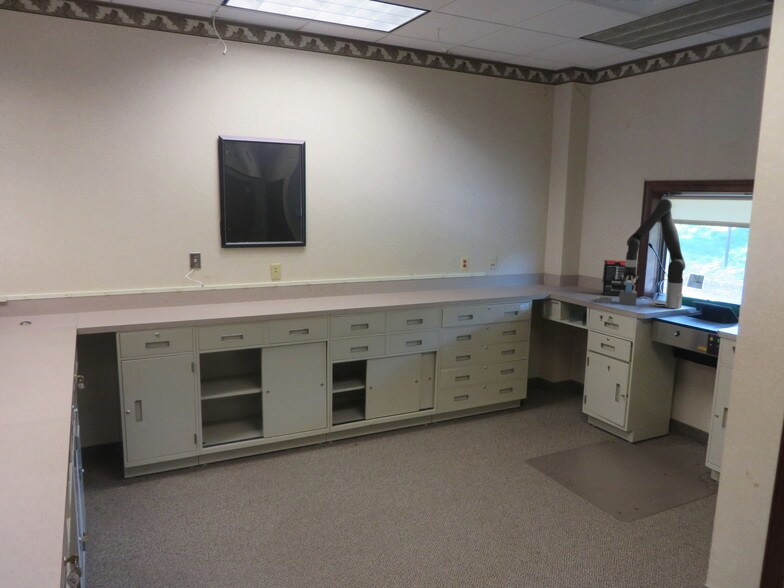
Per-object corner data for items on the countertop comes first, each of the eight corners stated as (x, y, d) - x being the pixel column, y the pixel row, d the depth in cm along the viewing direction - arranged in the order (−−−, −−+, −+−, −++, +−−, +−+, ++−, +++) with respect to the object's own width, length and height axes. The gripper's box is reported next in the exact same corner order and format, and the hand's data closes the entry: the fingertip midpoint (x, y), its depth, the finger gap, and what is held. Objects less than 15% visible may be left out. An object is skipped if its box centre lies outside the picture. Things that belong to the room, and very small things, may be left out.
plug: (631, 295, 406) (632, 282, 405) (631, 295, 402) (632, 283, 401) (625, 294, 408) (626, 282, 406) (625, 295, 404) (626, 282, 402)
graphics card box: (623, 295, 444) (626, 260, 440) (626, 296, 437) (629, 261, 433) (600, 294, 446) (603, 259, 441) (603, 295, 439) (606, 260, 435)
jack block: (635, 303, 409) (636, 291, 408) (635, 305, 399) (636, 293, 397) (595, 299, 419) (596, 288, 417) (595, 302, 409) (596, 290, 407)
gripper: (641, 266, 402) (639, 290, 405) (620, 264, 408) (617, 288, 410) (641, 267, 396) (639, 291, 398) (619, 265, 401) (617, 290, 404)
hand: (628, 289), depth 404 cm, fingers closed on plug, 4 cm apart
